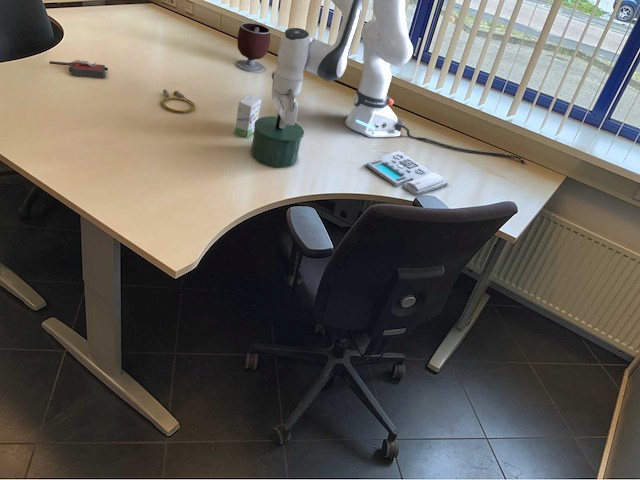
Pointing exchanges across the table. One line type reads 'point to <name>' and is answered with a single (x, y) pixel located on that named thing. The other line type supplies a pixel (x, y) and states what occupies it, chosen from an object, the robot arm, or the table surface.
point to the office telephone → (407, 173)
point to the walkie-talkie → (84, 68)
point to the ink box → (247, 115)
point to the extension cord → (176, 99)
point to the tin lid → (278, 129)
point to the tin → (274, 151)
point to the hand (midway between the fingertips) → (280, 124)
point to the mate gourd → (252, 45)
